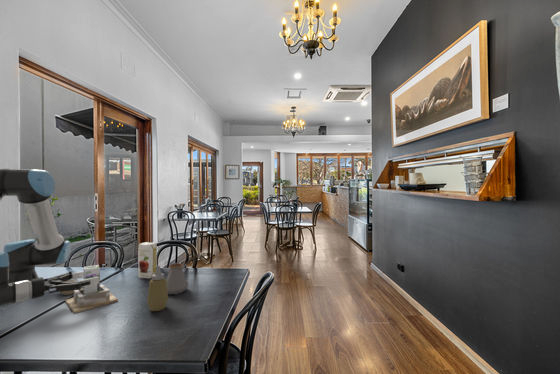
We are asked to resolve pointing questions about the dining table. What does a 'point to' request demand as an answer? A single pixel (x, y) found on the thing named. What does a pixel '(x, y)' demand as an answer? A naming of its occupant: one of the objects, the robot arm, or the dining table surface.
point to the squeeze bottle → (157, 291)
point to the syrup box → (91, 273)
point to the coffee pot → (177, 278)
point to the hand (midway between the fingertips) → (94, 276)
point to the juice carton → (147, 259)
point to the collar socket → (90, 299)
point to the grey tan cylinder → (71, 290)
